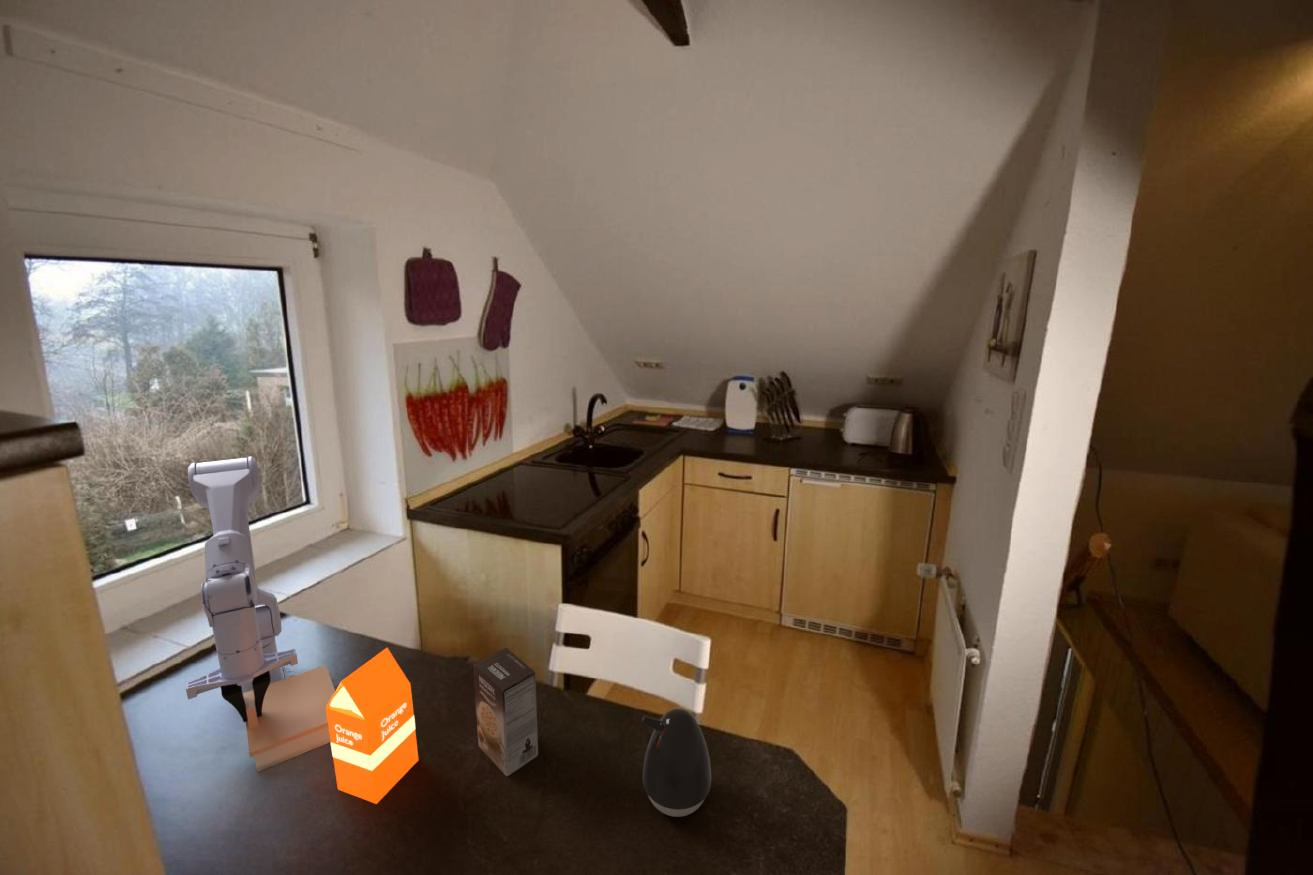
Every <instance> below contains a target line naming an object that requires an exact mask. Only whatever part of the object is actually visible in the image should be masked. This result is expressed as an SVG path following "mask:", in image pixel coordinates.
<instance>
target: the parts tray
mask: <svg viewBox="0 0 1313 875" xmlns="http://www.w3.org/2000/svg"><path fill="white" fill-rule="evenodd" d="M330 742H331V740H330V733H329V726H328V727H325V728H323V729H320V730H318V731H315V732H313V733H310V734H308V735H305V736H302V737H300V738H297V739H295V740H292V741H290V742H287V743H285V744H282V745H280V746H277V747H275V748H272V749H270V750H267V751H265V752H262V753H260V754H257V755H255V756H253V757H254V763H255V768H256V772H257V773H259V772H261V771H265V770H266V769H268V768H271V767H274V766H276V765H278V764H280V763H283V762H286V761H287V760H291V759H292V758H293V759H294V758H295V757H298V756H300V755H303V754H305V753H307V752H309V751H312V750H314V749H317V748H319V747H322V746H324V745H327V744H329V743H330Z"/></svg>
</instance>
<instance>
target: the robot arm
mask: <svg viewBox="0 0 1313 875" xmlns="http://www.w3.org/2000/svg"><path fill="white" fill-rule="evenodd" d="M187 467H188V468H187V479H188V485H189V490H190V493H191V495H192V496H193V497H194V499H195V501H196V503H198V505H199V506H200V508H206V509H208V511H209V515H210V522H211V527H212V533H213V535H212V536H211V537H210V538H209V539H207V541H206V542H205V544H204V561H205V562H204V566H205V582H202V583H201V585H200V599H201V605H202V608H203V611H204V613H205V615H206V618H207V622H208V626H209V628H212V633H213V639H214V643H215V648H216V654H217V659H218V663H219V668H218V669H216V670H213V671H211V672H209V673H207V674H205V675H202V676H200V677H197V678H195V679H192V680H189V681H187V682H186V683H185V691H186V695H187V700H192V699H194V698H196V697H198V695H199V694H203V693H205V692H210V691H211V690H212V691H213V690H215V689H219V688H220V692H221V697H222V698H223V700H225V701H226V702H228V703H229V704H230V705H232V707H234V709H235V710H236V712H238V714H239V715H240V717H241V719H242V722H243V723H246V721H248V718H247V712H246V705H245V700H244V697H243V693H244V692H247V691H250V690H253V691H254V697H255V707H256V713H257V717H260V716H262V705H263V700H264V696H265V693H266V691H267V688H268V686H269V684H271V683H274V682H277V681H280V680H283V679H286V678H285V674H284V669H283V667H285V666H291V667H292V666H295V665H298V664H299V661H298V656H297V655H298V654H297V652H296V651H297V650H296V648H292V649H289V650H284V651H283V650H282V651H279V652H278V648H277V642H276V637H278V636H279V635H280V634H281V633H282V629H283V628H282V621H281V620H282V619H281V613H280V607H279V604H278V600H277V597H276V596H275V594H274V593H271V592H268V591H266V590H264V589H261V588H259V587H258V580H257V575H256V566H255V560H254V550H253V544H252V539H251V531H250V524H249V517H248V516H249V514H248V513H249V509H250V504H251V503H253V502H255V501H257V500H259V499H260V494H261V485H260V475H259V468H258V464H257V459H256V458H255V457H253V456H252V455H251V456H248V457H240V458H232V459H223V460H222V459H221V460H213V461H207V462H192V463H191V464H189V466H187ZM256 606H257V607H256Z"/></svg>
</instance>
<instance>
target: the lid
mask: <svg viewBox="0 0 1313 875" xmlns="http://www.w3.org/2000/svg"><path fill="white" fill-rule="evenodd" d="M335 691H336V690H335V686H334V683H333V681H332V678H331V676H330V672H329V669H328V667H327V665H326V664H325V665H322V666H319V667H316V668H313V669H310V670H306V671H304V672H301V673H298V674H296V675H293V676H289V677H286V678H285V679H283V680H280V681H277V682H274V683H271V684H269V686H268V688H267V691H266V693H265V696H264V700H263V705H262V716H260V717H257V713H256V707H255V697H254V691H253V690H250V691H247V692H244V693H243V697H244V700H245V705H246V712H247V718H248V721H246V722H245V729H246V738H247V745H248V753H249V758H252V757H254V756H255V755H257V754H260V753H262V752H265V751H267V750H270V749H272V748H275V747H277V746H280V745H282V744H285V743H287V742H290V741H292V740H295V739H297V738H300V737H302V736H305V735H308V734H310V733H313V732H315V731H318V730H320V729H323V728H325V727H328V719H327V713H326V707H327V705H328V703H329V702H330V700H331V698H332V696H333V695H334V693H335Z"/></svg>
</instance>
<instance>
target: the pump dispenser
mask: <svg viewBox="0 0 1313 875" xmlns="http://www.w3.org/2000/svg"><path fill="white" fill-rule="evenodd" d="M641 723H642V724H643V725H645V726H646V727H648V728H651V729H654V730H653V731H652V734H651V736H650V739H649V741H648V744H647V747H646V751H645V755H644V761H643V768H642V783H643V788H644V791H645V792H646V794H647V796H648V799H649V800H650V802H651V804H652V805H653V806H654V807H655V808H656V809H657V810H658V811H659V812H661V813H662V814H664V815H667V816H670V817H674V818H675V817H678V818H679V817H685V816H688V815H691V814H693V813H694V812H696V811H697V810H698V809H699V808H700V807H701V805H702V804H703V802H704V801H705V799H706V797H707V796H708V794H709V793H710V790H711V785H712V770H711V759H710V755H709V754H710V753H709V749H708V745H707V743H706V739H705V736H704V734H703V731H702V729H701V727H700V725H699V723H698V721H697V720H696V718H695V717H694V715H693V714H692V713H690V711H688V710H686V709H684V708H681V707H680V708H679V707H677V708H671V709H669V710H667V711H666V712H665V714H663V716H662V717H661V718H659V719H657V718H654V717H650V716H647V715H644V716H642V719H641Z"/></svg>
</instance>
